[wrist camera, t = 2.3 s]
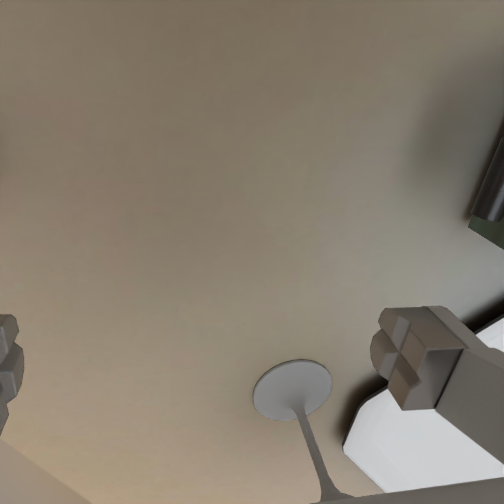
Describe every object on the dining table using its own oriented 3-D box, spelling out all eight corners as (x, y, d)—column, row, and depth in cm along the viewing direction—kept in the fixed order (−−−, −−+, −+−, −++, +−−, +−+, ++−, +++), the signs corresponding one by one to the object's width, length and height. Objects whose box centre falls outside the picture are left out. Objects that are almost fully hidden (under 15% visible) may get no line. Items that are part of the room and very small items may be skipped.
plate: (627, 401, 47) (647, 416, 45) (419, 517, 51) (428, 535, 49) (599, 234, 33) (625, 246, 31) (312, 412, 37) (320, 432, 35)
